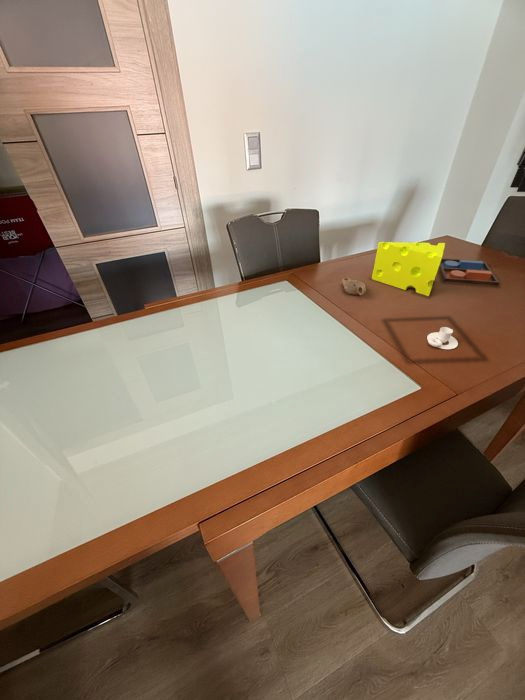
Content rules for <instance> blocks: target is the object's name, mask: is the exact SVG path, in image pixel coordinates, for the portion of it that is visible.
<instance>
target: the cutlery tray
mask: <svg viewBox="0 0 525 700" xmlns="http://www.w3.org/2000/svg"><path fill="white" fill-rule="evenodd" d="M460 260H463V258H461V259H459V258H443V257H442V259H441V262H440V265H439V268H438V270H439V272H440V274H441V277H442V280H443V282H445V283H457V284H468V285H469V284H471V285H485V286H496V287H497V286H499V285H500V281H499V280H498V278H497V276H496V275H495V274H494V272H493V270H492V269H491V267H490V265H488V263H487V261H485V260H482V261H483V263H484V264H483V266H482V269H466V268H446V267H444V263H445V261H456V262H458V263H459V261H460ZM471 260H472V261H480V260H478V259H471ZM454 270H458V271H462V272H464V273H466V270H479V271H491V273H492V276H491V278H490V280H480V279H467V278H464V279H457V278H451V277H450V276H449V275H450V272H451V271H454Z"/></svg>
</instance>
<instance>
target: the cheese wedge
mask: <svg viewBox="0 0 525 700" xmlns="http://www.w3.org/2000/svg"><path fill="white" fill-rule="evenodd" d="M445 247H446V242H438V243H437V245H436V244H435V245H434V244H431V243H430V242H409V241H408V242H407V241H405V242H403V241H402V242H401V241H378V245H377V249H376V255H375V259H374V264H373V270H372V275H371V280H373V281H376V282H379V283H383V284H385V285H389V286H392V287H395V288H398V289H400V290H404V291H407V290H408V289H409V288H413V289H415V293H417V294H420V295H424V296H427V297H430V294H431V291H432V288H433V284H434V282H435V280H436V277H437V273H438V271H439V265H440V262H441V259H442V258H443V255H444V250H445Z"/></svg>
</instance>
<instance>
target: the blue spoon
mask: <svg viewBox="0 0 525 700" xmlns="http://www.w3.org/2000/svg"><path fill="white" fill-rule="evenodd" d="M472 260H473V259H462V260H460V261H459V263H458V262H456V261H445V263H444V267H446V268H466V269H482V266H483V264H484V263H483V261H484V260H479V261H472Z"/></svg>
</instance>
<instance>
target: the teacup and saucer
mask: <svg viewBox="0 0 525 700" xmlns="http://www.w3.org/2000/svg"><path fill="white" fill-rule="evenodd" d="M453 333H454V329H453V328H451V327H447V326H441V327H440V328H439V331H437V332H436V331H435V332H430V333H428V334H427V337H426V340H427V343H428V344H429V345H430V346H432V347H434V348H438V349H442V350H453V349H456V348H457V347H459V342H458V340H457V339H456V338H455V337H453V336H452V334H453ZM447 342H448V344H446V343H447Z"/></svg>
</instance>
